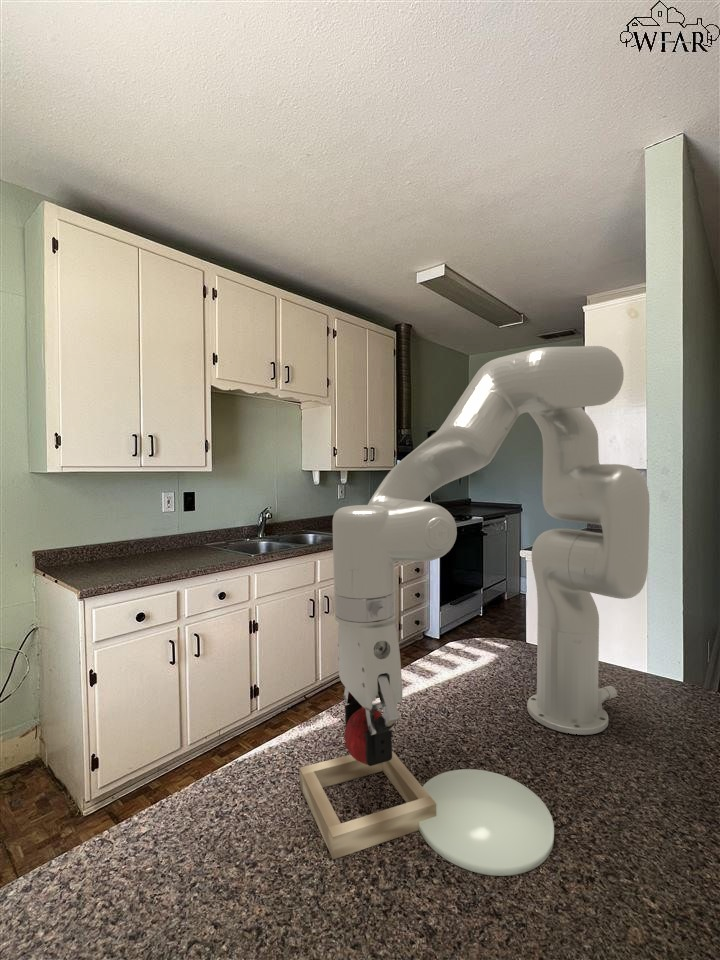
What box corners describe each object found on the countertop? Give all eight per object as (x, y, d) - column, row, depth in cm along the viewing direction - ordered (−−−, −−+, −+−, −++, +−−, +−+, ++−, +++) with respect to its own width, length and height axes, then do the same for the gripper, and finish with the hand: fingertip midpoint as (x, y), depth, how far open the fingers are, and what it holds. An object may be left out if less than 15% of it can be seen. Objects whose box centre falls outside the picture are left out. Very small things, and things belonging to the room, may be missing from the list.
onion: (387, 781, 58) (385, 716, 57) (340, 776, 59) (338, 712, 58) (393, 752, 63) (392, 692, 63) (350, 748, 64) (349, 689, 64)
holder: (387, 762, 69) (387, 745, 69) (436, 824, 57) (436, 803, 57) (299, 786, 64) (299, 767, 64) (333, 859, 52) (332, 837, 52)
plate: (493, 764, 69) (493, 757, 69) (586, 846, 54) (586, 838, 54) (392, 795, 62) (392, 787, 62) (466, 897, 48) (466, 887, 48)
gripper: (426, 621, 54) (429, 779, 54) (364, 585, 69) (367, 708, 70) (364, 632, 51) (368, 799, 51) (314, 592, 67) (318, 720, 67)
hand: (367, 745), depth 61 cm, fingers closed on onion, 5 cm apart
